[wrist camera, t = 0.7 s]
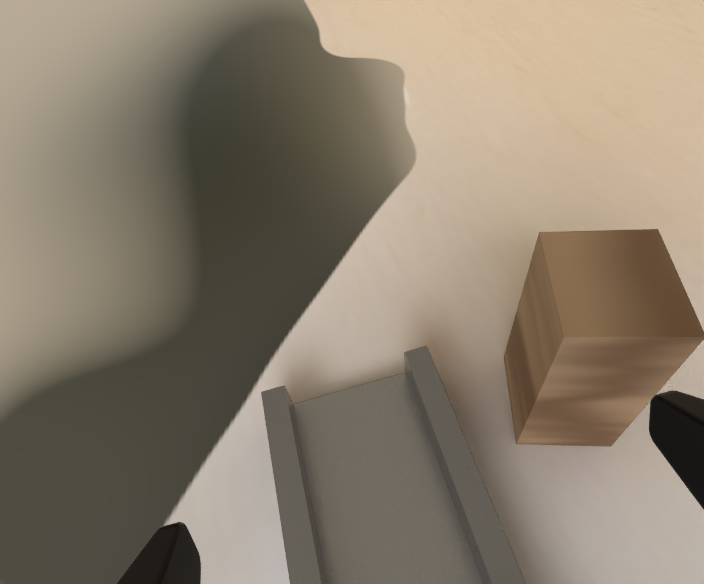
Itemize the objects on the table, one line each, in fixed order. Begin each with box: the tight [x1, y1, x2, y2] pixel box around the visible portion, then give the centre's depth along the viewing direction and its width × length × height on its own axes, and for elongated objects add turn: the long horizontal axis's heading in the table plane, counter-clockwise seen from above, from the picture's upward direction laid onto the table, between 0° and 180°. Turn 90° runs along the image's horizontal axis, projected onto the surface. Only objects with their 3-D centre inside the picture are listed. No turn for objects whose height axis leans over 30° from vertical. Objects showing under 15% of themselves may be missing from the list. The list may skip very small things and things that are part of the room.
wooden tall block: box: [504, 229, 704, 446], centre depth 22 cm, size 4×5×10 cm
